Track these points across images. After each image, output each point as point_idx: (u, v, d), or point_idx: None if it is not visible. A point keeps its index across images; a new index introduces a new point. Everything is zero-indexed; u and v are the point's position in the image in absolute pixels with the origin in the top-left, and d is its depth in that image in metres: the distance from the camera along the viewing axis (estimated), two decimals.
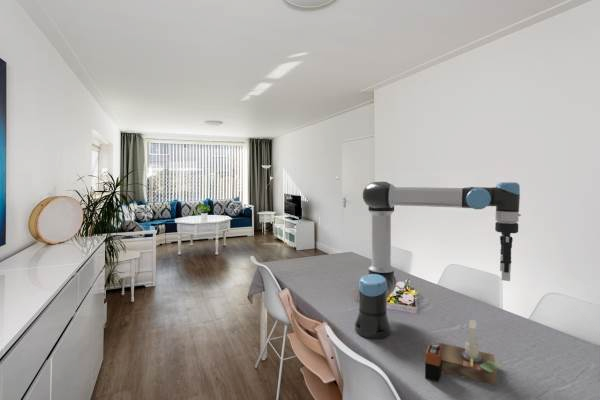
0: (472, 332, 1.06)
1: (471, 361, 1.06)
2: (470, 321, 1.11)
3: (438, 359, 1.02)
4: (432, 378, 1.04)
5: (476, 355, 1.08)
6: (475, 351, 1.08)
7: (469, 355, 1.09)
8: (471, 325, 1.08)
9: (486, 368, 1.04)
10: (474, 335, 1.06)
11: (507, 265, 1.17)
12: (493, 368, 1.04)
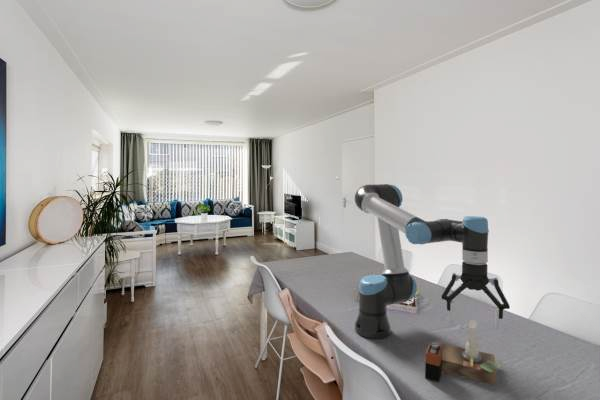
0: (472, 332, 1.06)
1: (471, 361, 1.06)
2: (470, 321, 1.11)
3: (438, 359, 1.02)
4: (432, 378, 1.04)
5: (476, 355, 1.08)
6: (475, 351, 1.08)
7: (469, 355, 1.09)
8: (471, 325, 1.08)
9: (486, 368, 1.04)
10: (474, 335, 1.06)
11: (447, 302, 1.12)
12: (493, 368, 1.04)
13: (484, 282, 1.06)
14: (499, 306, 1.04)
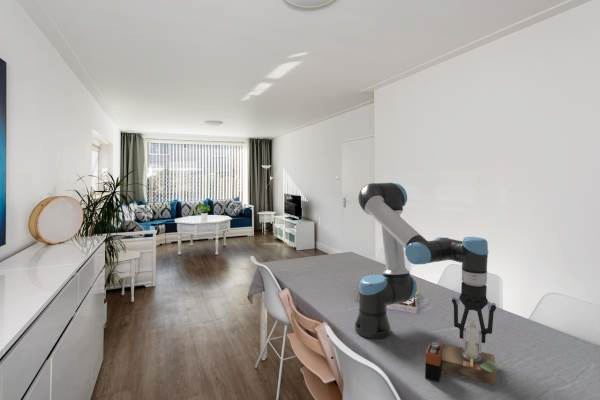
0: (472, 332, 1.06)
1: (471, 361, 1.06)
2: (470, 321, 1.11)
3: (438, 359, 1.02)
4: (432, 378, 1.04)
5: (476, 355, 1.08)
6: (475, 351, 1.08)
7: (469, 355, 1.09)
8: (471, 325, 1.08)
9: (486, 368, 1.04)
10: (474, 335, 1.06)
11: None
12: (493, 368, 1.04)
13: (482, 303, 1.06)
14: (483, 330, 1.07)
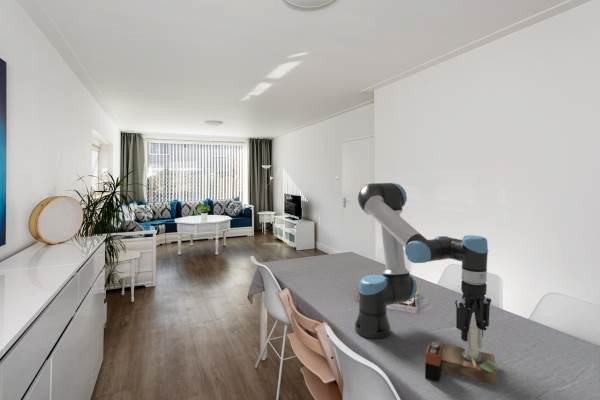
0: (474, 332, 1.06)
1: (473, 361, 1.06)
2: None
3: (438, 359, 1.02)
4: (432, 378, 1.04)
5: (477, 355, 1.08)
6: (476, 351, 1.08)
7: (469, 355, 1.08)
8: (472, 325, 1.08)
9: (486, 368, 1.04)
10: (476, 335, 1.06)
11: (463, 333, 1.08)
12: (493, 368, 1.04)
13: (482, 299, 1.08)
14: (483, 326, 1.09)
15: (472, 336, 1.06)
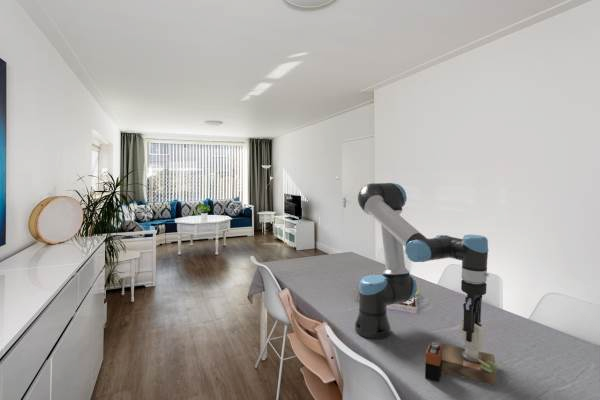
0: (481, 332, 1.06)
1: (482, 362, 1.06)
2: None
3: (438, 359, 1.02)
4: (432, 378, 1.04)
5: None
6: (478, 350, 1.08)
7: (474, 356, 1.08)
8: (476, 326, 1.08)
9: (486, 368, 1.04)
10: (482, 335, 1.06)
11: (469, 334, 1.06)
12: (493, 368, 1.04)
13: (479, 296, 1.10)
14: (478, 323, 1.11)
15: (479, 337, 1.06)
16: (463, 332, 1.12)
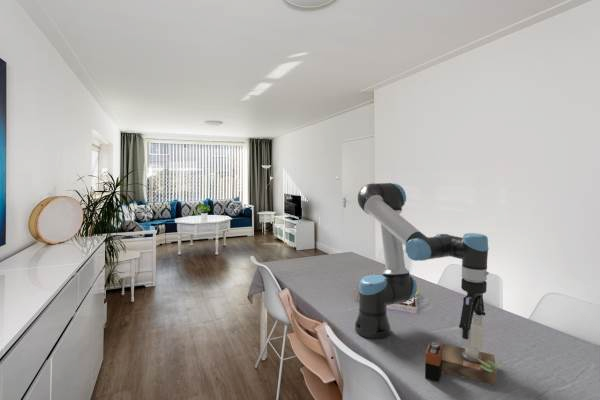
0: (481, 332, 1.06)
1: (482, 362, 1.06)
2: None
3: (438, 359, 1.02)
4: (432, 378, 1.04)
5: None
6: (478, 350, 1.09)
7: (474, 356, 1.08)
8: (476, 326, 1.08)
9: (486, 368, 1.04)
10: (482, 335, 1.06)
11: (465, 331, 1.03)
12: (493, 368, 1.04)
13: (479, 295, 1.10)
14: (482, 312, 1.14)
15: (480, 336, 1.06)
16: None
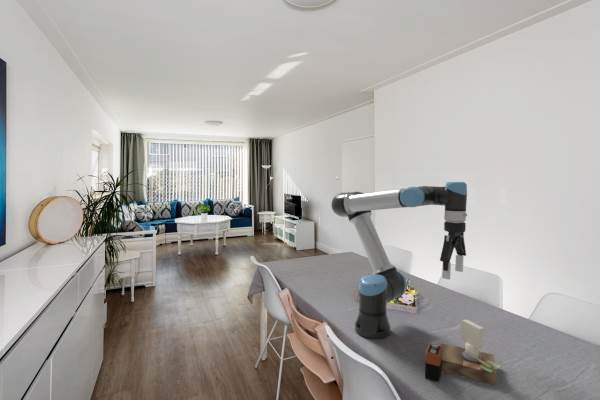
0: (481, 332, 1.06)
1: (482, 362, 1.06)
2: (466, 322, 1.11)
3: (438, 359, 1.02)
4: (432, 378, 1.04)
5: None
6: (478, 350, 1.09)
7: (474, 356, 1.08)
8: (476, 326, 1.08)
9: (486, 368, 1.04)
10: (482, 335, 1.06)
11: (445, 263, 1.19)
12: (493, 368, 1.04)
13: None
14: (463, 253, 1.29)
15: (480, 336, 1.06)
16: (463, 332, 1.12)
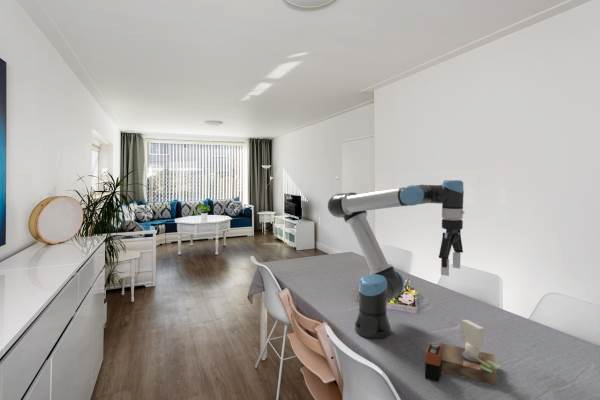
0: (481, 332, 1.06)
1: (482, 362, 1.06)
2: (466, 322, 1.11)
3: (438, 359, 1.02)
4: (432, 378, 1.04)
5: None
6: (478, 350, 1.09)
7: (474, 356, 1.08)
8: (476, 326, 1.08)
9: (486, 368, 1.04)
10: (482, 335, 1.06)
11: (444, 260, 1.21)
12: (493, 368, 1.04)
13: None
14: (460, 250, 1.32)
15: (480, 336, 1.06)
16: (463, 332, 1.12)
